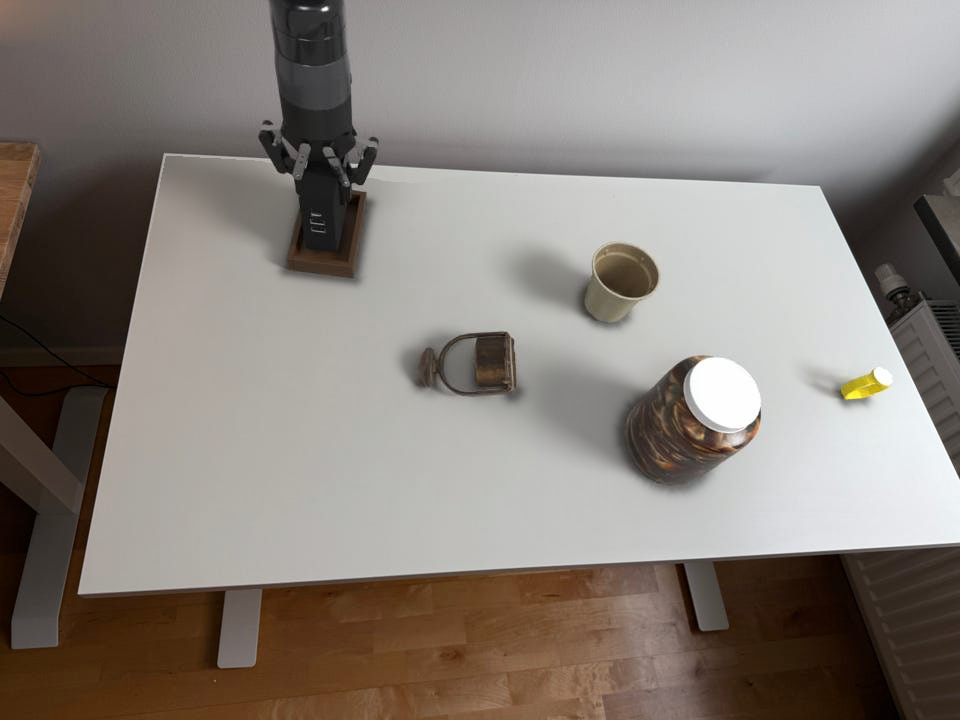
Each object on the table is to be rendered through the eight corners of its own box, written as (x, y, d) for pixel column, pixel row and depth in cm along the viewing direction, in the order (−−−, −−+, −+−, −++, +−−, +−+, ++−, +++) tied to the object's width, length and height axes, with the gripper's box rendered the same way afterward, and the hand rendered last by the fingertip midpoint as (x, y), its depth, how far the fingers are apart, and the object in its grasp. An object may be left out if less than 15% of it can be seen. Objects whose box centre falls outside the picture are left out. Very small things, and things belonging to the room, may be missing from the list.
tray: (288, 270, 81) (286, 258, 79) (307, 195, 88) (305, 182, 85) (353, 278, 82) (352, 267, 80) (366, 203, 89) (366, 191, 86)
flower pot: (647, 325, 86) (673, 291, 78) (589, 340, 83) (611, 305, 76) (618, 273, 90) (641, 235, 82) (563, 286, 87) (580, 248, 80)
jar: (727, 458, 78) (798, 412, 65) (661, 502, 73) (724, 462, 60) (669, 385, 82) (726, 328, 69) (604, 423, 77) (651, 370, 64)
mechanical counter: (514, 412, 70) (542, 337, 73) (413, 368, 69) (446, 295, 72) (501, 421, 77) (528, 352, 80) (409, 382, 76) (439, 314, 79)
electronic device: (305, 251, 80) (297, 198, 71) (318, 195, 85) (312, 139, 76) (337, 255, 80) (333, 202, 72) (348, 199, 85) (345, 144, 77)
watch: (838, 405, 85) (868, 387, 79) (829, 387, 86) (859, 368, 81) (873, 402, 86) (905, 383, 81) (865, 384, 87) (896, 365, 82)
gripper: (236, 95, 61) (262, 211, 76) (378, 118, 62) (376, 227, 77) (252, 49, 64) (274, 169, 79) (386, 71, 66) (383, 185, 81)
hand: (325, 197), depth 78 cm, fingers closed on electronic device, 4 cm apart
